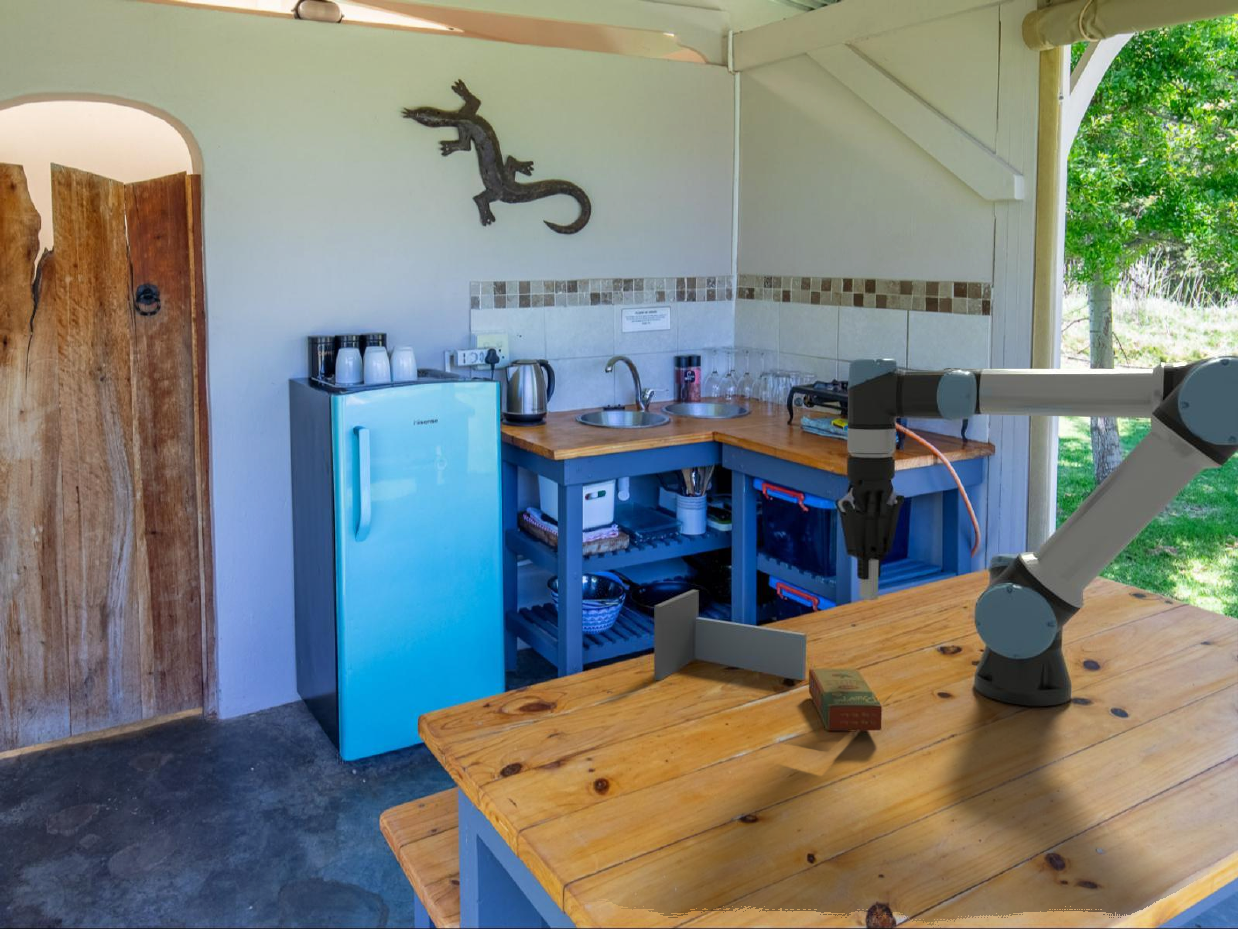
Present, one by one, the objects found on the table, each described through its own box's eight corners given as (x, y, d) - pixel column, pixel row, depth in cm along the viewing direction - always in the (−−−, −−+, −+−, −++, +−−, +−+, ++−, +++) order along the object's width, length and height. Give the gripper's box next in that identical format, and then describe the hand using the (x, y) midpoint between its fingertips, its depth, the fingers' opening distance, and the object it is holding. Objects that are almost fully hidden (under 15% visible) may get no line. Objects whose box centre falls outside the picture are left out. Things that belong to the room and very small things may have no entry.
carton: (858, 692, 173) (859, 667, 172) (882, 731, 157) (883, 704, 156) (807, 692, 173) (808, 667, 172) (826, 731, 157) (827, 704, 156)
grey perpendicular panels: (805, 678, 182) (806, 605, 181) (772, 702, 170) (773, 623, 169) (692, 658, 194) (693, 589, 192) (654, 679, 182) (654, 605, 180)
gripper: (885, 450, 176) (883, 589, 179) (824, 454, 170) (822, 598, 173) (918, 454, 170) (914, 598, 172) (855, 458, 163) (853, 608, 166)
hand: (868, 598), depth 172 cm, fingers closed
